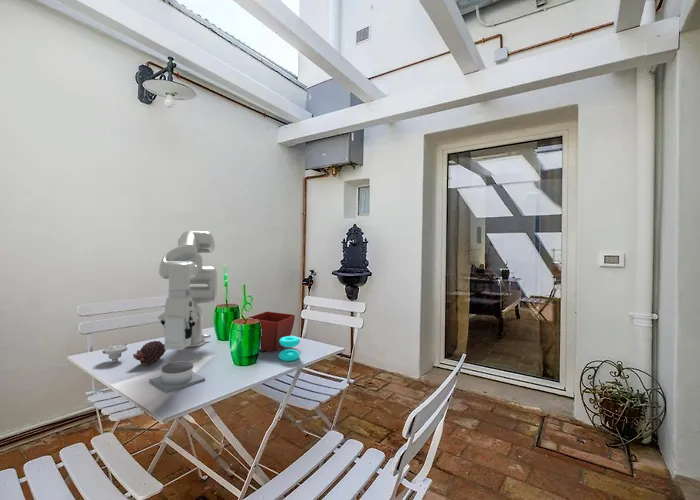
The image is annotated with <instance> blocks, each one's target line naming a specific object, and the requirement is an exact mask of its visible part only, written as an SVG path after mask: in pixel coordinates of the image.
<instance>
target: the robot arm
mask: <svg viewBox="0 0 700 500" xmlns="http://www.w3.org/2000/svg"><path fill="white" fill-rule="evenodd" d="M215 248H216V241H215V237H214V235H213V234H212V233H211V232H209V231H206V230H205V231H204V230H186V231H184V232H183V233H182V234H181V235H180V237H179V238H178V239H177V247H175V248H172V249H171V250H169V251H167V252H166V253H165V254H164V255H163V256H162V257H161V261H160V264H159V267H158V268H159V269H158V275H159V276H160V277H161V278H162V279H164V280H168V296H167V297H166V301H165V304H164V305H165V306H164V312H163V313H161V314H159V315H158V317H157V318H158V320H159V322H160V323H161V325H162V327H163V328H164V329H165V318H166V317H184V318H185V322H186V327H187V329H186V332H185V338H186V339H188V338H190V337H191V344H190V345H189V346H187V347H186V348H195V347H200V346H203V345H205V343H206V339H209V338H211V334H210V333H207V334H203V317H204V316H203V314H204V311H203V309H202V307H201V306H200V305H199V304H213V303H216V302H217V298H218V271H217V268H215V267H214V266H203V256H202V254H211V253H213V252H214V250H215ZM190 284H191V285H190ZM189 317H190V318H191V319H190V318H189Z"/></svg>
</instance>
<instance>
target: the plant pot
mask: <svg viewBox="0 0 700 500" xmlns="http://www.w3.org/2000/svg"><path fill="white" fill-rule="evenodd" d="M247 318H253V319H258V320H259V321H260V323H261V329H262V336H261V350H260V351H267V352H273V353H274V352H277V351H279V350H281V349H283V348H285V347H284V346H282V345H280V343H279V340H280V339H281V338H282V337H286V336H292V332H293V328H294V324H295V319H296V315H295V314H289V313H282V312H273V311H265V312H261V313H258V314H255V315H252V316H249V317H247Z"/></svg>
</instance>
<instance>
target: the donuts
mask: <svg viewBox="0 0 700 500" xmlns="http://www.w3.org/2000/svg"><path fill="white" fill-rule="evenodd" d="M300 342H301V340H300V337H297V336H292V335H290V336H286V337H282V338H281V339H280V340H279V343H280V345H282V346H284V347H283V348H288V349H284V350H281V351H280V352H279V353H278V357H279V359H280V360H281V361H285V362H292V361H296V360H298V359H299V358H300V352H299V351H297V350H296V349H290V348H292V347H297V346H298V345H299V344H300Z"/></svg>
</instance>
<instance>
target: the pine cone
mask: <svg viewBox="0 0 700 500" xmlns="http://www.w3.org/2000/svg"><path fill="white" fill-rule="evenodd" d="M164 348H165V343H163V342H162V341H160V340H154V341H149V342H147V343H145V344H143V345H142V346H141V349H138V350H137V351H136V353H133V355H132V356H133V359H135V360H136V361H139V363H140V364H141V365H145V366H146V365H149V366H150V365H152V364H154V363H157V362H158V360H160V359H161V357H162V356H164V355H165V353H166V352H167V351H166V350H167V349H164Z"/></svg>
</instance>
